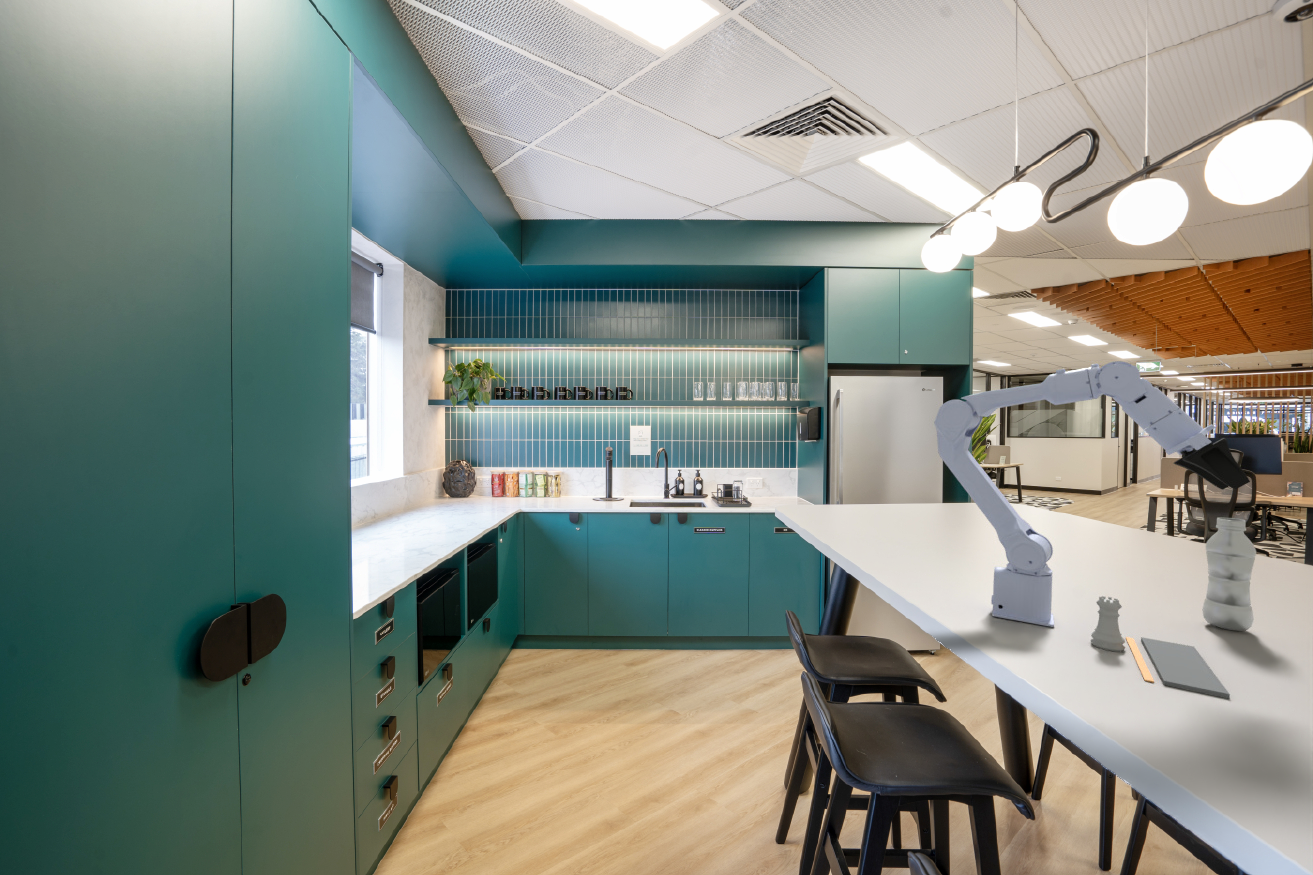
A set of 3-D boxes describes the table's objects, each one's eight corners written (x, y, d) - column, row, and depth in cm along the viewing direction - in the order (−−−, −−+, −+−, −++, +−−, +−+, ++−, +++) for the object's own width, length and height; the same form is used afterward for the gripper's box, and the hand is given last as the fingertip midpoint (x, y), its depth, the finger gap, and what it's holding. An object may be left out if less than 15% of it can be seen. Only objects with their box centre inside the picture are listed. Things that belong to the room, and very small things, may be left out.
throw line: (1144, 680, 78) (1144, 679, 78) (1125, 638, 94) (1125, 636, 94) (1154, 682, 77) (1154, 681, 77) (1133, 639, 94) (1133, 638, 94)
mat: (1163, 684, 77) (1163, 680, 77) (1140, 640, 93) (1141, 637, 93) (1229, 698, 73) (1229, 694, 73) (1193, 650, 89) (1193, 646, 89)
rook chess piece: (1131, 653, 88) (1133, 603, 87) (1100, 650, 88) (1101, 601, 88) (1114, 643, 92) (1116, 595, 92) (1084, 640, 93) (1085, 593, 93)
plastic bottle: (1237, 624, 102) (1241, 517, 102) (1263, 637, 96) (1267, 523, 95) (1193, 620, 104) (1197, 515, 104) (1216, 632, 98) (1220, 520, 98)
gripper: (1196, 397, 84) (1280, 468, 78) (1179, 409, 96) (1250, 472, 90) (1148, 426, 87) (1225, 497, 81) (1137, 434, 99) (1204, 496, 93)
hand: (1235, 485), depth 86 cm, fingers open, 7 cm apart
